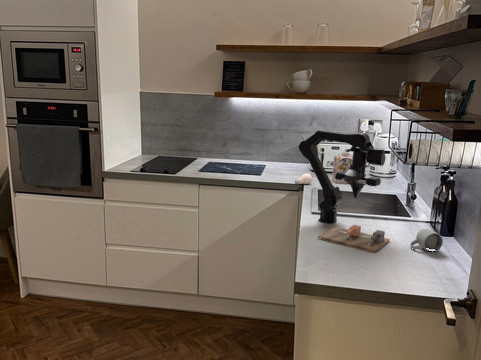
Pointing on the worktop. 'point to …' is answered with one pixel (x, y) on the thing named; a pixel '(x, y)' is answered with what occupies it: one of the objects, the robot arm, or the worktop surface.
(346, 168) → the decorative jar
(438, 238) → the ceramic mug
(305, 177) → the light bulb
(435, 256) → the worktop surface
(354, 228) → the block
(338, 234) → the board
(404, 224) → the worktop surface
